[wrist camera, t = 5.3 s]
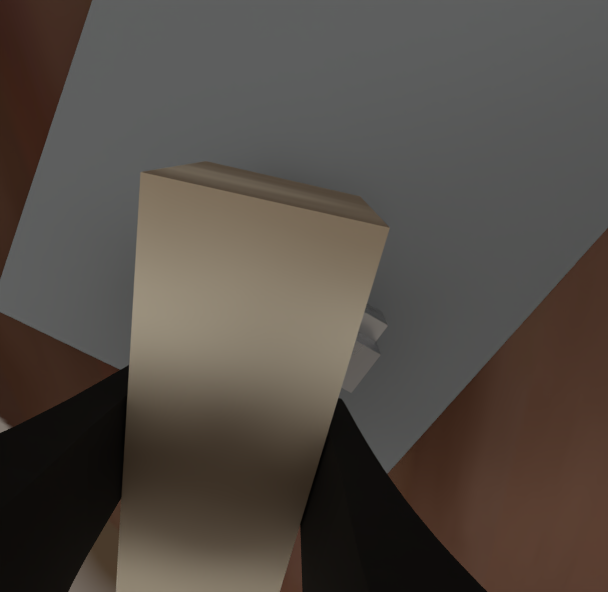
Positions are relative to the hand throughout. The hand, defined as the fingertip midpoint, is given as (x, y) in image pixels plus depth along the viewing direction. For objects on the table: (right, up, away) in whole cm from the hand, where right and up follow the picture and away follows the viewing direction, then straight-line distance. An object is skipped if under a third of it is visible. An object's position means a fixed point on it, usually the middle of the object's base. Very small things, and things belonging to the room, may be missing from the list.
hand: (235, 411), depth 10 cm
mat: (+2, +7, +7) cm, 10 cm away
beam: (0, +1, +2) cm, 2 cm away
